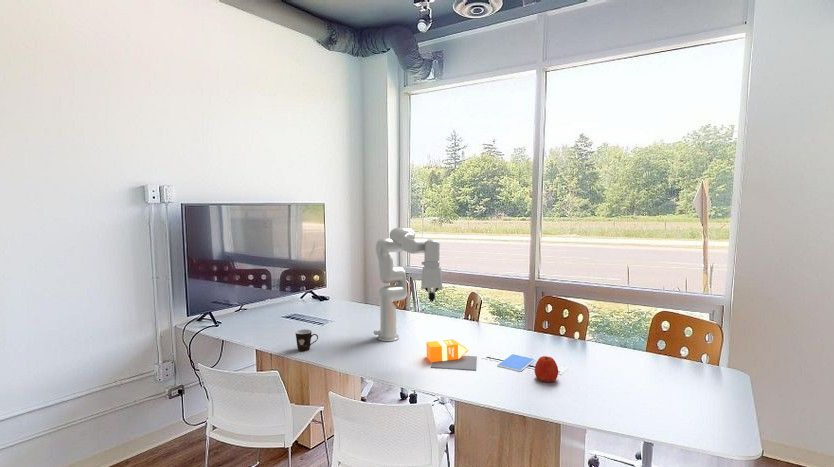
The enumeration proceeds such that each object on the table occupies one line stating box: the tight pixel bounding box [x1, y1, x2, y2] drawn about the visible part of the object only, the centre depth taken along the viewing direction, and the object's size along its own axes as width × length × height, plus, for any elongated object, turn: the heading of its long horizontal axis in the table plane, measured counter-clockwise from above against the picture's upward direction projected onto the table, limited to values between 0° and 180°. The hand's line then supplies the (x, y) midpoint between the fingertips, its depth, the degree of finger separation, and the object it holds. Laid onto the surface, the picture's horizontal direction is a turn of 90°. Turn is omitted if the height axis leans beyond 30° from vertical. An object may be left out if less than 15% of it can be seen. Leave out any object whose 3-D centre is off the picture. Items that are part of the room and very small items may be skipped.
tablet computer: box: [496, 354, 536, 373], centre depth 205 cm, size 19×13×1 cm, turn 144°
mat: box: [430, 355, 478, 372], centre depth 205 cm, size 22×18×1 cm
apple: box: [534, 355, 559, 383], centre depth 185 cm, size 10×10×10 cm
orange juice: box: [425, 339, 469, 363], centre depth 211 cm, size 8×9×20 cm
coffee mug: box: [295, 328, 319, 353], centre depth 223 cm, size 12×9×10 cm
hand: (431, 300), depth 206 cm, fingers closed
